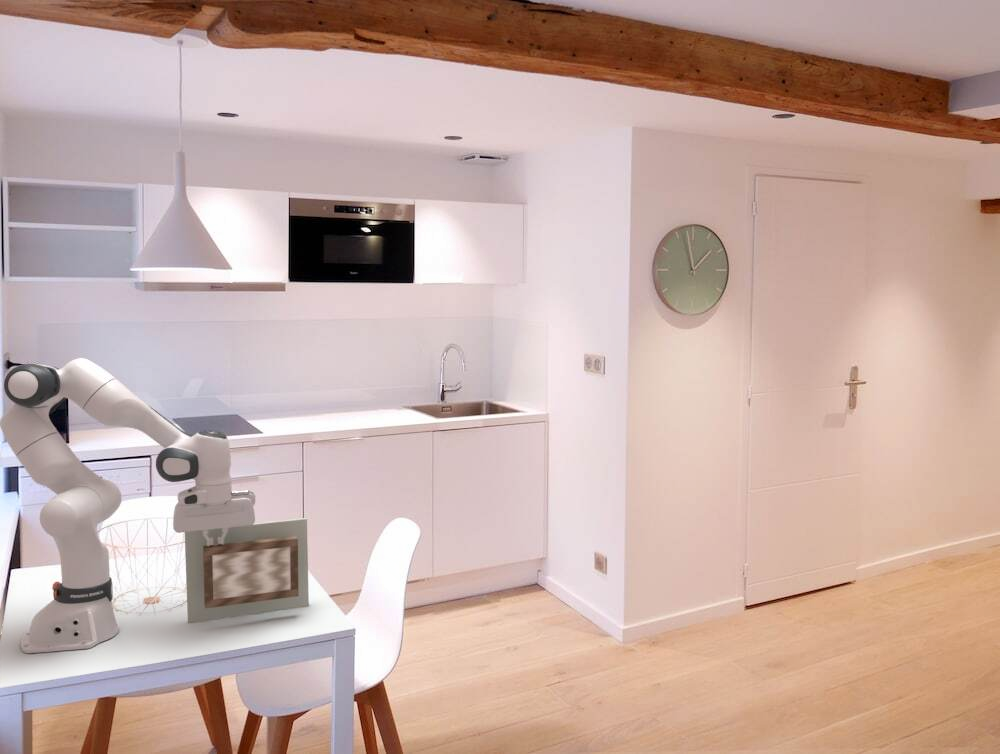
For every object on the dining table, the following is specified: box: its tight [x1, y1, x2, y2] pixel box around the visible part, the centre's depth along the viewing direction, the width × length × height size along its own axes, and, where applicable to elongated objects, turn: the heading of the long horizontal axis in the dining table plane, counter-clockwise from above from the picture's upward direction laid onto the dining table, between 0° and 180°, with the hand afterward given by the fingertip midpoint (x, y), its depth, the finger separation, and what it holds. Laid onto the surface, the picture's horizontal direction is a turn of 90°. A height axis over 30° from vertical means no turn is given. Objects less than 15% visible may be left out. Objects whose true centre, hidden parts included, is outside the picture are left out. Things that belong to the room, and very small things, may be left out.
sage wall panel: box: [184, 517, 310, 624], centre depth 235 cm, size 32×6×25 cm, turn 114°
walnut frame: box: [203, 536, 299, 608], centre depth 231 cm, size 24×2×16 cm, turn 114°
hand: (215, 545), depth 226 cm, fingers closed
